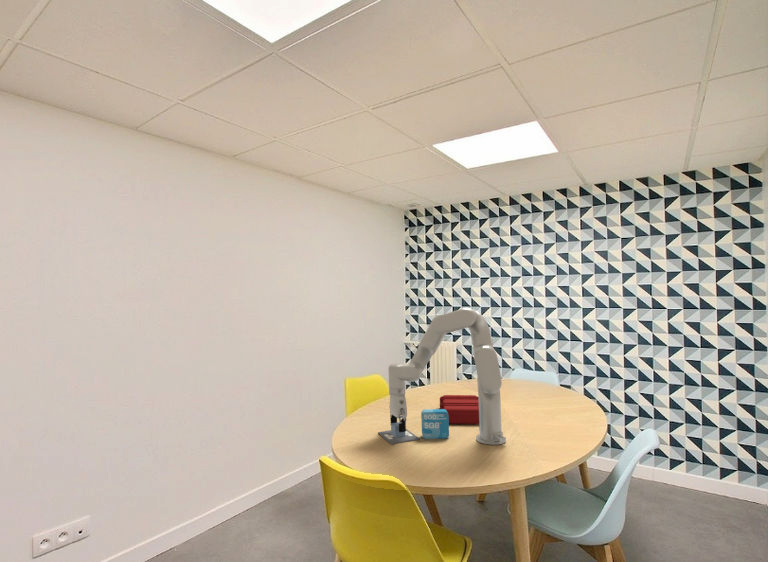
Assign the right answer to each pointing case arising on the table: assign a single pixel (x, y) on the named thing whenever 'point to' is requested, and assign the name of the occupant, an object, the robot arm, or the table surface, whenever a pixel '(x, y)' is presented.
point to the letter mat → (393, 440)
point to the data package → (435, 423)
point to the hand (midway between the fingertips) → (398, 428)
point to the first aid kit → (461, 408)
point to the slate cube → (396, 430)
